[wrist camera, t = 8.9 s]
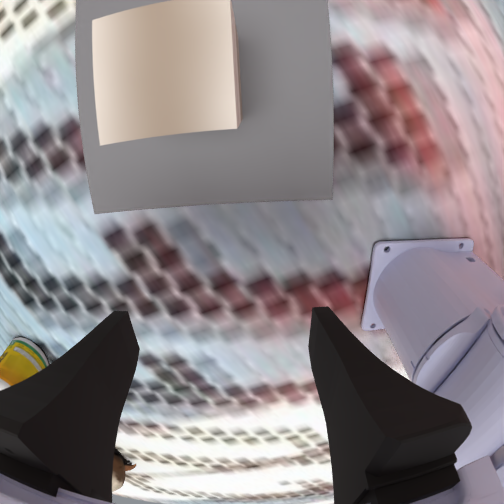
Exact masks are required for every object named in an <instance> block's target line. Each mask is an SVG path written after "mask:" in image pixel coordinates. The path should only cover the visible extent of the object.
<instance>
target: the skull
mask: <svg viewBox="0 0 504 504" xmlns="http://www.w3.org/2000/svg"><path fill="white" fill-rule="evenodd" d="M118 449H119V448H118ZM118 451H119V450H118ZM118 451H117V449H116V447H115V451H114V460H113V474H112V492H113V491H115V490H117V489H119V488H121V487H122V486H123V483H124V481H125V471H128V470H131V469H134V468H135V466H136V464H135V465H131V463H130V461H128V460H126V459H124V458H123V457H122V456H121V454H122V453H121V454H119V453H120V452H118ZM127 463H129V464H127Z"/></svg>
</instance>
